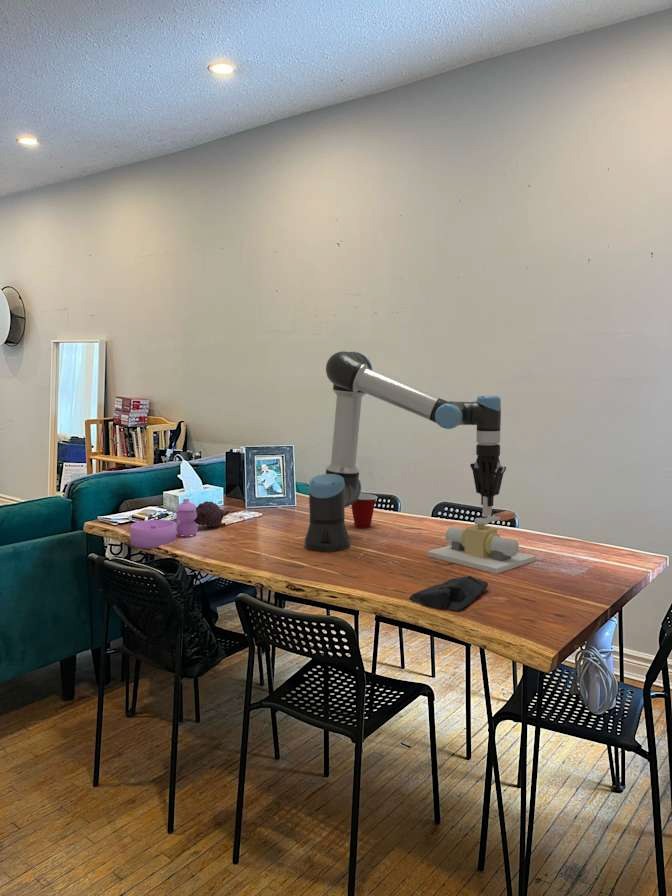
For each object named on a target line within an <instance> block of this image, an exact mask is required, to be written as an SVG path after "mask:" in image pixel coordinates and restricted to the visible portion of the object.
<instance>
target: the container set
mask: <svg viewBox="0 0 672 896" xmlns="http://www.w3.org/2000/svg"><path fill="white" fill-rule="evenodd" d="M182 501H183V502H182V503H179V504H178V505H177V506H176V510H177V511H176V514H175V515H176V519H177V520H178V521H179V522H178V523H176V521H174V520H169V519H149V520H148V519H147V520H141V521H136V522H133V523H131V524H129V537H130V538H129V541H130V546H132V547H134V548H140V549H154V548H160V547H159V546H161V545H165V544H169V543H171V542H174V541H175V540H176V541H177V535H179V536H180V535H184V536H190V535H194V536H195V535H196V534H197V533H198V531H199V530H198V529H199V527H198V526H199V525H198V524H196V522H194V520H195V519H196V517H197V512H196V511H195V510H196V507H197V506H196V504H195V503H192V502H190V498H183V499H182Z"/></svg>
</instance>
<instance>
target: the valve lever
mask: <svg viewBox="0 0 672 896" xmlns="http://www.w3.org/2000/svg"><path fill="white" fill-rule="evenodd" d="M515 518H516V511H508V510H505V511H501V512H496V513H493V515H492V516H487V517H476V518H475V517H474V524H475V526H477V525H485V526H487V525H489V524H490V523H492V522H493V523H494V522H496V521H498V522H499V521H500V522H504V521H507V520H512V519H515Z"/></svg>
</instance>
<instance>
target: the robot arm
mask: <svg viewBox="0 0 672 896" xmlns="http://www.w3.org/2000/svg"><path fill="white" fill-rule="evenodd" d="M325 365H326V366H325V374H326V377H327V378H328V381H330V382H331V384H333V386H332V391H333V392H334V393H335V395H336V403H335V410H334V411H335V414H334V422H333V423H334V425H333V435H332V436H333V437H332V446H331V447H332V448H331V457H330V458H331V459H330V464H329V465H328V466H326V467H325V473H324V474H318V475H315V476H313V477H312V478H311V479H310V480H309V486H308V494H309V495H308V498H309V503H308V504H309V506H308V507H309V524H308V528H307V532H306V535H305V538H304V548H306V549H307V550H310V551H316V552H337V551H343V550H346V549H348V548H349V547H351V539H350V537H349V533H348V530H347V529H348V528H347V526H346V524H345V515H346V514H345V513H346V512H345V509H346V508H348V507H349V506H350V507H351V505H352V504H353V503H354V502H355V501H356V500H357V499H358V497H359V496H360V493H361V494H362V483H361V481H360V479H359V478H360V477H359V476H360V470H359V468H358V467H357V465H356V464H357V450H358V443H359V432H360V419H361V408H362V398H363V397H364V396H365V395H366V394H367V395H369V396H371V397H374V398H376V399H379V400H381V401H384V402H386V403H388V404H391V405H393V406H396V407H397V408H400V409H403V410H404V411H407V412H408V413H409V412H410V413H412V414H414V415H417V416H419V417H421V418H424V419H427V420H429V421H430V422H434V423H435V424H437V425H438V426H439V427H441V428H443V429H445V430H452V429H454V428H457V427H458V426H476V434H475V435H476V440H475V441H476V443H477V444H476V448H475V450H476V451H475V454H476V456H477V457H476V459H475V460H476V461H475V462H473V463H470V464H469V465H470V469H471V470H472V475H473V481H474V482H473V483H474V486H475V492H476V493H477V494H480V496H481V499H480V501H481V502H480V505H481V506H482V517H484V518H486V517H490V516H493V515H492V514H493V512H492V511H493V508H492V507H493V506H494V497H495V496H498V495H499V494H500V491H501V486H502V481H503V477H504V474H505V472H506V471H507V467H506V466H503V465H502V464H501V461H500V455H501V445H500V443H501V426H502V425H501V422H502V408H501V407H502V405H501V404H502V403H501V398H500V397H499V396H498V395H478V396H477V398H476V401H450V400H449V401H448V400H445V399H442V398H440V397H437V396H436V395H433V394H430V393H429V392H425V391H423V390H421V389H419V388H417V387H413V386H411V385H408V384H406V383H404V382H401V381H399V380H396V379H394V378H392V377H390V376H386V375H384V374H382V373H380V372H377V371H375V370H373V365H372V362H371V361H370V359H369V358H368V357H367V356H366V355H364V354H363V353H361V352H357V351H342V350H341V351H338V352H335V353H334V354H332V355H331V356H330V357H329V358H328V360H327V362H326V364H325Z"/></svg>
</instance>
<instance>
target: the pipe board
mask: <svg viewBox="0 0 672 896" xmlns="http://www.w3.org/2000/svg"><path fill="white" fill-rule="evenodd" d="M445 540H446V542H447V543H450V544H451V545H447V546H443V547H439V548H436V549H431V550H428V551H427V557H430V558H433V559H437V560H441V561H445V562H449V563H452V564H453V563H454V564H457V565H461V566H465V567H468V568H472V569H477V570H480V571H484V572H487V573H490V574H491V573H492V574H499V573H503V572H506V571H509V570H512V569H514V568H518V567H521V566H524V565H527V564H530V563H533V562H536V555H531V554H527V553H524V552H519V547H520V546H519V541H518V540H517V539H512V538H507V537H503V536H501V535H500V534H499V533H498V528H495V527H491V526H487V525H473V526H469V527H465V528H459V527H453V526H449V527H448V528H447V530H446V532H445Z"/></svg>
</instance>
